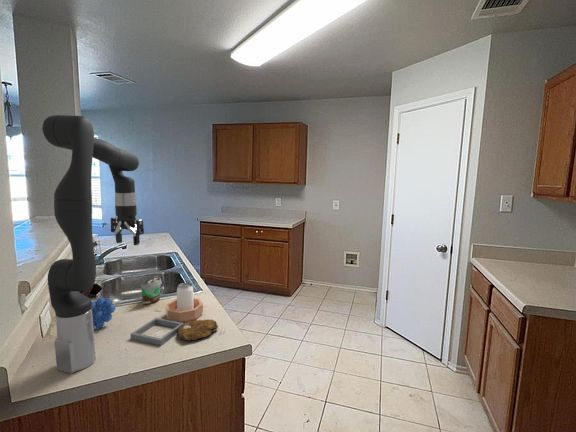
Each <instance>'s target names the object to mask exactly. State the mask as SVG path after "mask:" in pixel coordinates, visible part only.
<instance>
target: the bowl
mask: <svg viewBox="0 0 576 432" xmlns="http://www.w3.org/2000/svg"><path fill="white" fill-rule="evenodd" d="M193 301H194V309H192V310H186V311H181V312H180V311H177V298H175V299H172V300H171V301H170V302H168V303H166V304H165V314H166V320H170V321H175V322H181V323H187V322H191V321H195V320H197V319H199V318H200V317H201V316H202V315H203V314H202V313H204V307H203V306H204V304H203V302H202V300H201V299H200V298H195V297H193Z"/></svg>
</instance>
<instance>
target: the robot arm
mask: <svg viewBox="0 0 576 432" xmlns="http://www.w3.org/2000/svg"><path fill="white" fill-rule="evenodd" d="M42 133H43V136H44V138H45V139H46V141H47V142H48V143H49V144H51V145H52V146H54V147H57V148H60V149H66V150H71V159H70V165H69V167H68V169H67V171H66V173H65V174H64V175H63V177H62V178H61V180H60V182H59V183H58V185H57V186H56V187H55V191H54V193H53V203H54V204H53V207H54V208H53V210H54V212H53V213H54V218H55V220H56V222H57V224H58V226H59V227H60V229H61V231H62V232H63V234H64V235H65V236H66V238H67V240H68V242H69V244H70V247H71V253H72V254H71V255H72V259H71V258H69V259H68V258H62V259H58V260H55V261H54V262H53V263H52V264H51V266H50V268H49V269H48V273H47V286H48V287H47V288H48V292H49V298H50V299H49V300H50V305H51V307H52V308H53V310H54V314H55V323H56V336H57V338H56V339H54V351H55V354H54V355H55V363H56V370H58V371H61V372H65V373H68V374H74V373H75V372H78V371H81V370H84V369H86V368H88V367H90V366H91V365H92V364H94V363H95V361H96V357H97V356H96V346H95V344H96V343H95V331H94V329H95V328H94V329H93V314H92V302H93V301H92V299H91V298H90V297H88V296H87V295H84V294H82V293H81V292H86V291H89V290H90V289H92V287H93V285H94V283H95V281H96V277H97V266H96V257H95V249H94V242H93V241H94V240H93V238H94V237H93V197H92V196H93V194H92V193H93V192H92V168H93V166H92V164H93V159H95V160H98V161H99V162H102V163H103V164H104V163H105V164H107V165H108V168H109V171H110V173H111V175H112V179H113V182H114V210H115V211H114V212H115V213H114V214H115V217H111V218H110V232H111V233H114V235H115V242H116V244H121V243H122V242H123V233H122V232H123V230H128V231H129V232H131V234H132V235H133V236H132V239H133V246H138V245H140V241H141V240H140V239H141V238H140V236H141V235H144V234H145V228H144V220H143V219H142V218H141V219H137V218H136V217H137V214H138V212H137V211H138V210H137V195H136V185H135V179H134V178H132V177H130V176H125V174H124V172H134V171H136V170H137V169H138V167H139V165H140V160H139V158H138V157H137V155H136V154H135V153H133V152H132V151H129V150H126V149H122V148H118V147H117V146H116V145H114V144H112V143H111V142H108V141H106V140H104V139H100V138H98V137H95V132H94V126H93V124H92V122H91V121H90V119H89V118H88V117H87V116H84V115H66V114H63V115H62V114H56V115H50V116H48V117H46V118H45V120H43V123H42Z"/></svg>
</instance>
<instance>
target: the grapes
mask: <svg viewBox="0 0 576 432" xmlns="http://www.w3.org/2000/svg"><path fill="white" fill-rule="evenodd" d="M91 302H92V314H93V329H97V330H98V329H102V328H103V327H104V326H105V323H109V322H110V321H111V320H112V318H113V315H112V314H113V313H115V310H116V306H115V305H114V304H113V303H114V302H113V299H112V298H108V299H106V298H105V297H103V296H102V297H99V298H98V299H97V300H96V301H95V300H94V301H91Z"/></svg>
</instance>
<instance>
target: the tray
mask: <svg viewBox="0 0 576 432" xmlns="http://www.w3.org/2000/svg"><path fill="white" fill-rule="evenodd" d="M184 323H185V322H184ZM184 323H181V322H175V321H170V320H168V319H163V318H159V317H155V318H153V319H152V320H150V321H148V322H147V323H145V324H143V325H142V326H141V327H139V328H138V329H136V330H134V331H133V332H131V333H130V340H133V341H138V342H143V343H147V344H152V345H156V346H163V345H164V344H166V343H167V342H168V341H170V339H171V340H172V338H173V337H174V336H177V333H178V329H179V328H180V327H181V326H182V325H183V324H184ZM155 325H160V326H164V327H169V328H173V329H171V330H170V331H168V332H167V333H166V334H164V335H163V336H161V338H159V337H155V336H150V335H145V334H143V333H145V332H147V331H149V330H150V329H151V328H153V327H155Z"/></svg>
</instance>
